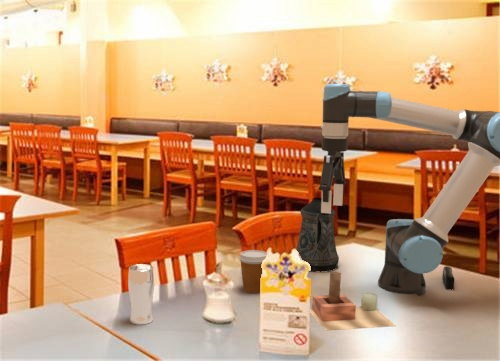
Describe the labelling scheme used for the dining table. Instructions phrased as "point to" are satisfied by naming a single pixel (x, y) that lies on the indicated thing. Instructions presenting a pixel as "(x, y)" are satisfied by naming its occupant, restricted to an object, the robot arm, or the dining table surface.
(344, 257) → the dining table surface
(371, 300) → the loose bead
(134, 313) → the beer glass
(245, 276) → the disposable coffee cup
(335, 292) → the brown wooden cylinder
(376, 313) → the board
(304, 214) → the beer stein
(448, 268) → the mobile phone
